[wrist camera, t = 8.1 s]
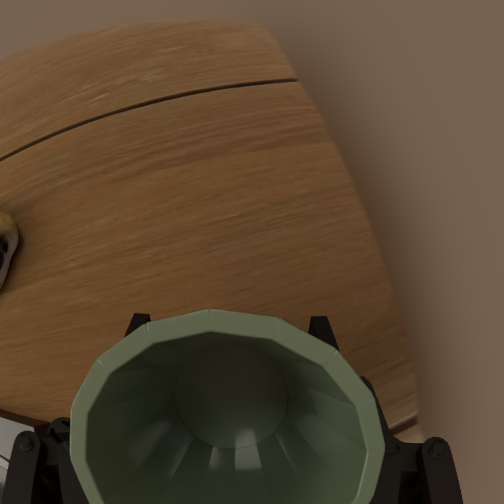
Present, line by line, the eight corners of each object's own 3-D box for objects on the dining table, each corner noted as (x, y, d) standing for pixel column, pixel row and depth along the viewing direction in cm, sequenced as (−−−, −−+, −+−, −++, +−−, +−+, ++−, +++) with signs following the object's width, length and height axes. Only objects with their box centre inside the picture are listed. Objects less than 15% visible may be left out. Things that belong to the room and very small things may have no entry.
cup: (314, 372, 17) (431, 395, 6) (254, 469, 15) (278, 598, 3) (209, 314, 18) (163, 248, 7) (149, 412, 16) (36, 477, 4)
